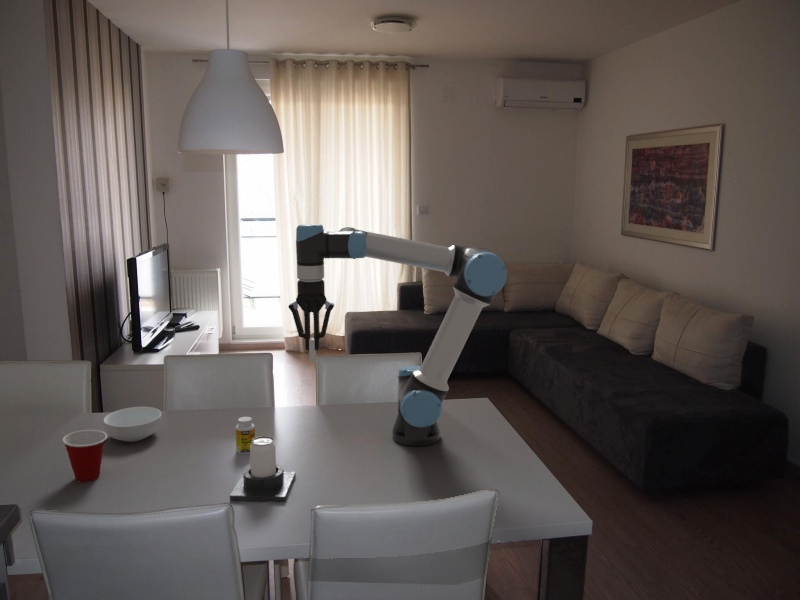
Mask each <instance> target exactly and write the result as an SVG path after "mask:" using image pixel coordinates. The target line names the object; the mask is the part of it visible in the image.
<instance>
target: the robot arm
mask: <svg viewBox="0 0 800 600" xmlns="http://www.w3.org/2000/svg"><path fill="white" fill-rule="evenodd" d="M295 230H296V231H295V232H296V234H295V235H296V236H295V250H296V278H297V279H298V281H297V284H296V285H297V296H296V298H295V301H293V302H291V303H289V304H288V306H287V307H288V309H289V310H290V311H291V314H292V317H293V320H294V324H295V328H296V332H297V335H298V337H299V338H303V339H304V341H305V342H304V343H305V344H304V345H305V350H306V351H309V353H308V355H309V363H315V362H316V360H317V351H319V349H320V347H321V346H320V339H322V338H324V337H325V336H326V334H327V330H328V325H329V320H330V316H331V313H332V310H333V309H334V307H335V304H334V303H332V302H330V301H328V299H327V297H326V295H325V294H326V293H325V291H326V289H325V280H324V278H325V261H324V260H325V259H352V260H355V259H364V258H371V259H374V260H375V259H376V260H380V261H385V262H391V263H395V264H401V265H405V266H412V267H416V268H423V269H427V270H430V271H431V270H432V271H438V272H443V273H445V275H446V277H450V278H455V279H456V280H455V282H454V284H453V286H452V288H453V291H454V297H453V298H452V301H451V302H450V305H449V307H448V309H447V311H446V313H445V315H444V317H443V320H442V322H441V324H440V326H439V328H438V330H437V332H436V334H435V336H434V339H433V340H432V342H431V345H430V346H429V349H428V351H427V353H426V356H425V358H424V359H423V362H422V364H421V365H408V366H407V365H406V366H403V367H401V368H399V369H398V374H397V378H398V381H397V382H398V386H397V390H398V391H397V395H398V396H397V399H398V400H397V416H396V419H395V420H394V421H395V422H394V424H393V428H392V440H394V441H395V442H396V443H398V444H400V445H403V446H407V447H426V446H431V445H434V444H436V443H437V442H439V440H440V439H441V431H440V430H441V429H440V427H439V424H438V420H439V419H440V417H441V414H442V411H443V406H442V404H443V402H444V400H445V398H446V395H447V394H448V391H449V390H450V387H449V384H448V379H449V378H450V375H451V373H452V371H453V370H454V367H455V365H456V363H457V362H458V359H459V358H460V355H461V353H462V351H463V349H464V347H465V345H466V343H467V341H468V338H469V336H470V334H471V332H472V330H473V328H474V327H475V324H476V321H477V320H478V318H479V316H480V314H481V312H482V310H483V308H485V307H489V306H490V305H491V303H492V301H493V300H494V297H495V296H496V294H497V293H498V292H500V291H501V290H502V289H503V287H504V286H505V284H506V282H507V278H508V277H507V268H506V265H505V263H504V261H503V260H502V258H501V257H500V256H499V255H497V254H496V253H495V252H491V251H490V250H488V249H487V248H483V247H474V246H461V245H457V244H452V245H451V246H443V245H439V244H438V245H437V244H433V243H428V242H422V241H417V240H414V239H413V240H412V239H408V238H401V237H398V236H393V235H392V236H391V235H387V234H383V233H382V234H381V233H376V232H372V231H365V230H361V229H356V228H355V227H349V226H347V227H343V228H340V230H338V231H325V229H324V226H323V225H322V224H320V223H302V224H299V225H297V227H296V229H295ZM324 305H325V306H324ZM299 307H300V309H301V311H303V316H304V317H303V319H304V328H303V323H302V320H301V316H300V313H299ZM323 307H324V309H325V310H326V311H325V314H324V318H323V322H322V327H321V330H320V311H321V310H322V308H323ZM311 313H312V315H313V337H311V336H312V334H311Z"/></svg>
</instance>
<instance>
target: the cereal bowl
mask: <svg viewBox="0 0 800 600" xmlns="http://www.w3.org/2000/svg"><path fill="white" fill-rule="evenodd" d="M162 420H163V419H162V411H161V410H160V409H158V408H156V407H152V406H151V407H150V406H133V407H127V408H126V407H125V408H121V409H118V410H115V411H113V412H110V413H108V414H107V415H105V417H103V426H104V432H105V433H106V434H107V436H110V437H111V438H112V439H115V440H117V441H118V440H119V441H123V442H131V443H133V442H139V441H142V440H144V439H146V438H147V437H149V436H151V435H153V434H154V433H155V432H157V430H159V428H160V426H161V424H162Z"/></svg>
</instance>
